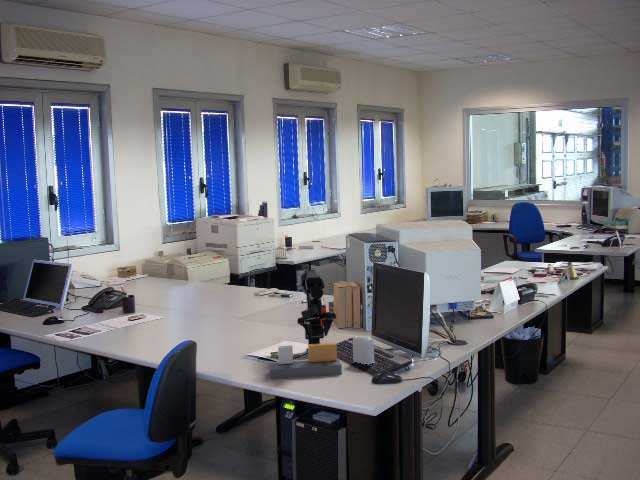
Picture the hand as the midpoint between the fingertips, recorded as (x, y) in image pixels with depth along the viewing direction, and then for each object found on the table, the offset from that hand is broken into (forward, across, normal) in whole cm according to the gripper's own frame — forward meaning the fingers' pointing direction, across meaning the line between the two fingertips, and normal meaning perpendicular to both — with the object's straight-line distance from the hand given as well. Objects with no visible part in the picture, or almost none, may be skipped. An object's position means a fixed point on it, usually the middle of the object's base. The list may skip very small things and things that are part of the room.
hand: (317, 337), depth 310 cm
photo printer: (+13, +16, +11) cm, 24 cm away
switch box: (+16, +2, -14) cm, 21 cm away
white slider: (+12, -4, -18) cm, 22 cm away
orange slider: (+12, +8, -7) cm, 16 cm away
